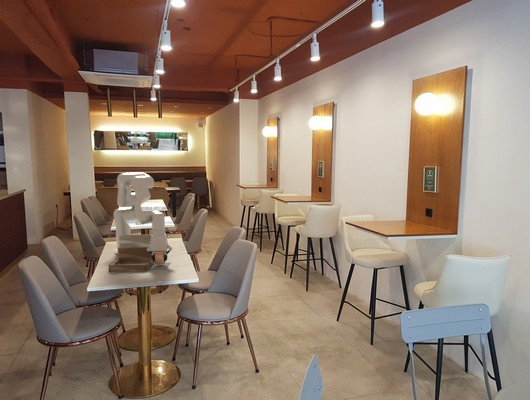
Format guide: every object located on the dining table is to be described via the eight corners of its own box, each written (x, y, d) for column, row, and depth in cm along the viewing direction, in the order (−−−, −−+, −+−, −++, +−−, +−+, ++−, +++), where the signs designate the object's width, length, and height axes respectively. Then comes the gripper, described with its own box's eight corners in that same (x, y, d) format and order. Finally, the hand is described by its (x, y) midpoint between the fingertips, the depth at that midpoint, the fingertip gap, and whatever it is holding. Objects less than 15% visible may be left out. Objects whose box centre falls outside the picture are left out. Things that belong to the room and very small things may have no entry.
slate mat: (154, 263, 250) (154, 262, 249) (170, 262, 250) (170, 262, 250) (149, 269, 236) (149, 269, 236) (166, 269, 236) (166, 268, 236)
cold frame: (119, 262, 251) (117, 235, 249) (154, 261, 252) (152, 234, 250) (108, 271, 232) (106, 241, 230) (146, 270, 233) (144, 241, 231)
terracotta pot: (155, 262, 246) (155, 249, 245) (166, 261, 246) (166, 249, 245) (153, 265, 239) (152, 252, 238) (164, 264, 239) (163, 252, 238)
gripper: (142, 233, 236) (144, 263, 238) (171, 233, 237) (172, 262, 239) (146, 231, 244) (147, 259, 246) (174, 231, 244) (175, 259, 247)
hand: (159, 260), depth 242 cm, fingers closed on terracotta pot, 6 cm apart
